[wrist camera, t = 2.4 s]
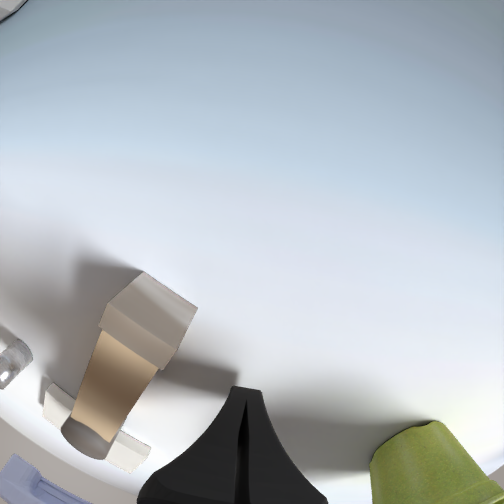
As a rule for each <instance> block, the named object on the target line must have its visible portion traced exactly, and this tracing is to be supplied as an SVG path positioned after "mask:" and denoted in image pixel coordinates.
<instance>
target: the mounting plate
mask: <svg viewBox="0 0 504 504" xmlns="http://www.w3.org/2000/svg"><path fill="white" fill-rule="evenodd" d="M75 401H76V400H75V399H73V398H72V397H71V396H69V395H68V394H67V393H65V392H64V391H63V390H62V389H60V388H59V387H58V386H57V385H55V384H54V383H52V384H51V385H50V386H49V388H48V389H47V390H46V392H45V399H44V406H43V414H42V416H43V417H44V418H45V419H47V420H48V421H49V422H50V423H52V424H53V425H54V426H56V427H57V428H58V429H59V430H61V426H62V425H63V423H64V422H65V421H66V419H67V418H68V416H69V415H70V414H71V412H72V410H73V407H74V404H75ZM150 450H151V447H149V446H147V445H145V444H143V443H142V442H140V441H138V440H136V439H134V438H133V437H131V436H129V435H127V434H126V433H124V432H122V431H121V430H120V431H119V433H118V435H117V437H116V439H115V441H114V443H113V445H112V447H111V449H110V451H109V453H108V455H107V457H106V458H105V459H104V460H106V461H108V462H109V463H111V464H113V465H115V466H116V467H118V468H120V469H122V470H124V471H126V472H128V473H129V474H131V473H132V472H133V471H134V470H135V469H136V468H137V467H138V466H139V465H141V464H142V463H143V462H144V461H145V460H146V459H147V457H148V455H149V452H150Z"/></svg>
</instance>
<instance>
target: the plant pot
mask: <svg viewBox="0 0 504 504" xmlns="http://www.w3.org/2000/svg"><path fill="white" fill-rule="evenodd" d="M369 468H370V478H371V489H372V502H373V504H504V490H503V489H502V488H501V487H500V486H499V485H498V484H497V482H495V481H493V480H490V479H489V478H488V477H487V476H486V475H485V473H484V472H483V471H482V470H481V468H480V467H479V466H478V465H477V464H476V462H475V461H474V460H473V459H472V458H471V456H470V455H469V454H468V453H467V451H466V450H465V449H464V448H463V447H462V445H461V444H460V443H459V442H458V440H457V439H456V438H455V436H454V435H453V434H452V433H451V432H450V431H449V429H448V428H447V427H446V426H445V425H444V424H443V423H441V422H436V421H433V422H430V423H429V424H428V425H425V426H421V427H411V428H409V429H406V430H404V431H403V432H400V433H399V434H397V435H395V436H394V437H392V438H391V439H390V440H388V441H387V442H385V443H384V444H383V445H382V446H380V447H379V448H378V449H377V450H376V452H375V453H374V456H373V459H372V461H371V463H370V464H369Z"/></svg>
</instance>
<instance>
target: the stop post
mask: <svg viewBox="0 0 504 504" xmlns="http://www.w3.org/2000/svg"><path fill="white" fill-rule="evenodd" d="M32 360H33V357H32V354H31V351H30V350H29V348H28V347H27V345H26V344H25V343H24V342H22V341H21V340H16V341H15V342H14V343H12V344H11V345H10V346H9V347H7V348H6V349H5V350H4V351H3V352H1V353H0V389H2V390H3V389H4V388H5V387H6V386H7V385H8V384H9V383H10V382H11V381H12V380H13V379H14V378H15V377H16V376H17V375H18V374H19V373H20V372H21V371H22V370H23V369H24V368H25V367H26V366H27V365H29V364H30V363H31V362H32Z"/></svg>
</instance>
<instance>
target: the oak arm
mask: <svg viewBox="0 0 504 504" xmlns="http://www.w3.org/2000/svg"><path fill="white" fill-rule="evenodd" d="M197 309H198V308H197V307H195V306H194V305H192V304H191V303H189V302H188V301H186V300H185V299H183V298H182V297H180V296H179V295H177V294H176V293H174V292H173V291H171V290H170V289H168V288H167V287H165V286H164V285H162V284H161V283H159V282H158V281H156V280H155V279H154V278H152V277H151V276H149V275H148V274H146V273H145V272H142V273H141V274H140V275H139V276H138V277H137V278H135V279H134V280H133V281H132V282H131V283H130V284H128V285H127V286H126V287H125V288H124V289H123V290H122V291H120V292H119V293H118V294H117V295H116V296H115V297H114V298H112V299H111V300H110V301H109V302H108V303H107V306H106V308H105V310H104V313H103V315H102V317H101V320H100V322H99V325H98V327H100V328H101V329H102V331H101V334H100V336H99V339H98V341H97V344H96V346H95V349H94V351H93V354H92V356H91V359H90V361H89V364H88V367H87V369H86V372H85V375H84V378H83V381H82V383H81V386H80V389H79V392H78V395H77V398H76V401H75V404H74V407H73V410H72V412H71V414H70V415H69V416H68V418H67V419H66V421H65V422H64V423H63V425H62V426H61V433H62V435H63V436H64V438H65V439H66V440H67V441H68V442H69V443H70V444H71V445H72V446H73V447H74V448H75V449H77V450H78V451H80V452H81V453H83V454H85V455H87V456H89V457H91V458H94V459H98V460H103V459H105V458H106V457H107V455H108V453H109V451H110V449H111V447H112V445H113V443H114V441H115V439H116V437H117V435H118V433H119V431H120V429H121V428H122V426H123V424H124V422H125V420H126V418H127V415H128V414H129V412H130V411H131V409H132V408H133V406H134V405H135V403H136V402H137V400H138V399H139V397H140V396H141V394H142V393H143V391H144V390H145V388H146V387H147V385H148V384H149V382H150V381H151V379H152V378H153V376H154V375H155V373H156V372H157V370H158V369H161V370H164V368H165V367H166V365H167V364H168V362H169V361H170V359H171V358H172V357H173V355H174V354H175V352H176V351H177V349H178V347H179V345H180V343H181V341H182V339H183V337H184V335H185V333H186V331H187V329H188V327H189V325H190V323H191V321H192V319H193V317H194V315H195V313H196V311H197Z"/></svg>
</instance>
